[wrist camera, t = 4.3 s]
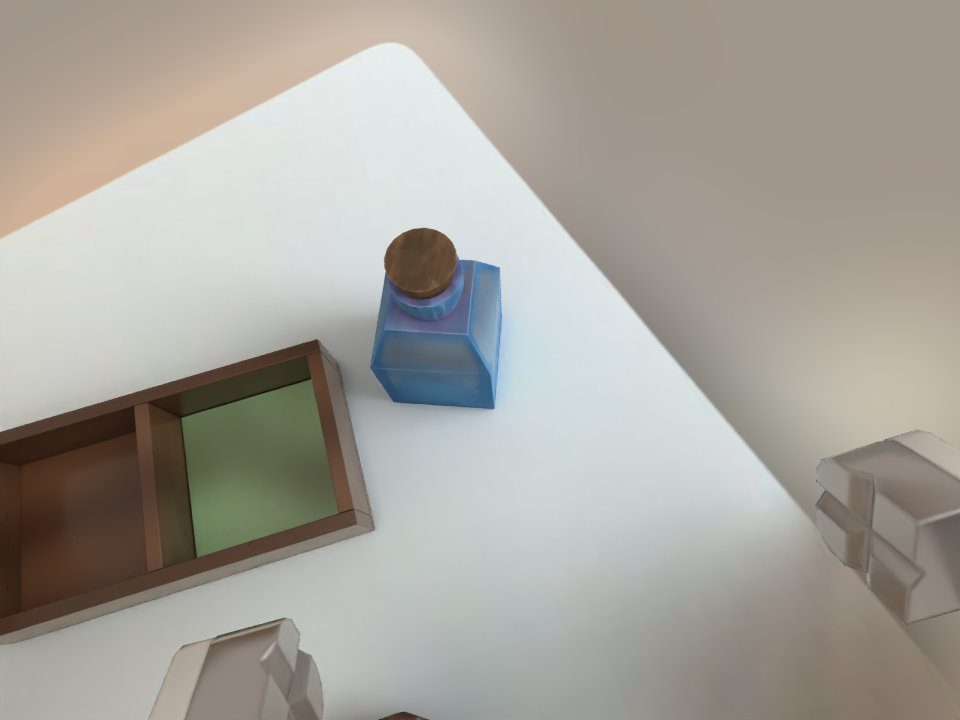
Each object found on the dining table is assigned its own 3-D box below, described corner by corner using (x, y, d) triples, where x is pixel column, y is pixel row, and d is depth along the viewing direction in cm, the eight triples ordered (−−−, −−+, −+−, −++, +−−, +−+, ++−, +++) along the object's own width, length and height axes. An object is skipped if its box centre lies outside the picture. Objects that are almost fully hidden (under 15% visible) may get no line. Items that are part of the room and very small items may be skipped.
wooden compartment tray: (375, 530, 32) (357, 524, 29) (15, 643, 31) (-54, 652, 27) (338, 363, 36) (317, 338, 32) (15, 458, 35) (-46, 444, 31)
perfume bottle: (406, 310, 37) (361, 196, 26) (501, 316, 37) (497, 202, 25) (393, 402, 35) (338, 320, 24) (494, 408, 34) (485, 328, 23)
